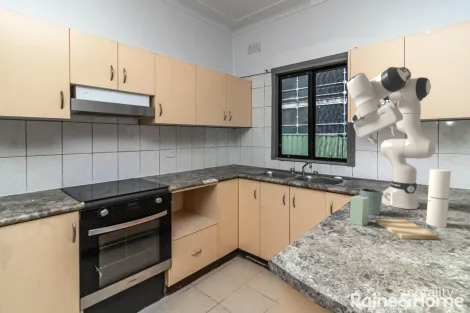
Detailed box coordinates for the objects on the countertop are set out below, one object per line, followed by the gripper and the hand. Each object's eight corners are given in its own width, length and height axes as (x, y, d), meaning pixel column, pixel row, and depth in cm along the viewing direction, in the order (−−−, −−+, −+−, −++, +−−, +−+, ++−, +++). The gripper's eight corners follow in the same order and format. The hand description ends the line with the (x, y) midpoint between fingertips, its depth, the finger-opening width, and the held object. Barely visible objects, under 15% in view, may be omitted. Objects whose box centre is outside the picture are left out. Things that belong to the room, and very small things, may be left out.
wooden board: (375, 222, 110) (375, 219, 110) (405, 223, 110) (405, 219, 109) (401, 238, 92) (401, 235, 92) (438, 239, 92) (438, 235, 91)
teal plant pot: (375, 210, 129) (377, 188, 128) (385, 216, 119) (387, 192, 118) (356, 209, 130) (357, 187, 129) (364, 215, 120) (365, 192, 119)
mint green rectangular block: (349, 222, 110) (350, 196, 109) (355, 220, 113) (357, 195, 112) (361, 226, 105) (363, 199, 104) (367, 223, 108) (369, 197, 108)
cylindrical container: (438, 227, 104) (443, 171, 102) (422, 222, 111) (425, 169, 109) (450, 226, 106) (455, 170, 104) (433, 221, 113) (437, 168, 111)
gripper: (397, 95, 90) (414, 128, 88) (358, 118, 109) (371, 145, 107) (385, 99, 88) (402, 133, 86) (348, 121, 107) (361, 149, 105)
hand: (384, 140), depth 97 cm, fingers open, 8 cm apart
